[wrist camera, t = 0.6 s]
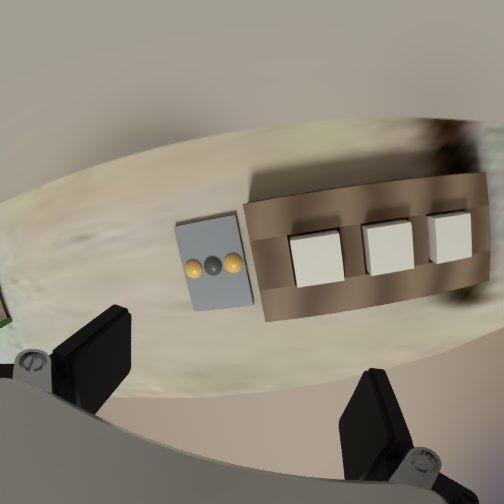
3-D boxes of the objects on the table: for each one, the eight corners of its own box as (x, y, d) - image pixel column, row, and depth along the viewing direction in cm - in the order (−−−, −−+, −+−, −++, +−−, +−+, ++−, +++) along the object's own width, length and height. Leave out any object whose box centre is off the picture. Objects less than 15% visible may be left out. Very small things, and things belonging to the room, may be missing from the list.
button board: (471, 172, 26) (485, 172, 23) (476, 273, 28) (488, 280, 25) (248, 202, 31) (242, 204, 28) (268, 310, 33) (265, 322, 30)
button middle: (403, 219, 26) (411, 222, 24) (406, 262, 27) (414, 268, 25) (361, 225, 27) (367, 229, 25) (366, 269, 28) (371, 276, 26)
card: (235, 214, 31) (234, 215, 30) (253, 303, 33) (252, 305, 32) (175, 226, 32) (173, 227, 32) (195, 309, 34) (193, 312, 34)
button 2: (335, 229, 28) (338, 233, 25) (341, 273, 28) (344, 280, 26) (290, 236, 28) (290, 240, 26) (297, 280, 29) (297, 287, 27)
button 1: (460, 211, 25) (470, 213, 23) (461, 251, 26) (471, 256, 24) (425, 215, 26) (434, 218, 24) (428, 258, 27) (437, 264, 25)
